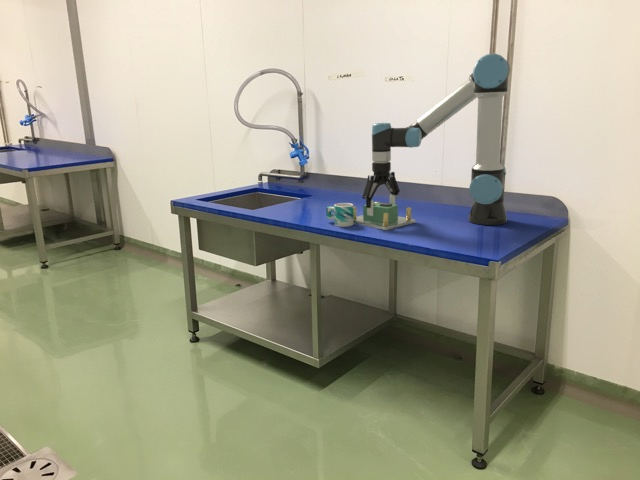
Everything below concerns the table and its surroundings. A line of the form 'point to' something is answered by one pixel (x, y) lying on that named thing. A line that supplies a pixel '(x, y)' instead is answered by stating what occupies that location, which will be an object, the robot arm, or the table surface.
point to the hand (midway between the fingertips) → (381, 212)
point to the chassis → (384, 221)
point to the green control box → (381, 212)
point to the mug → (341, 214)
